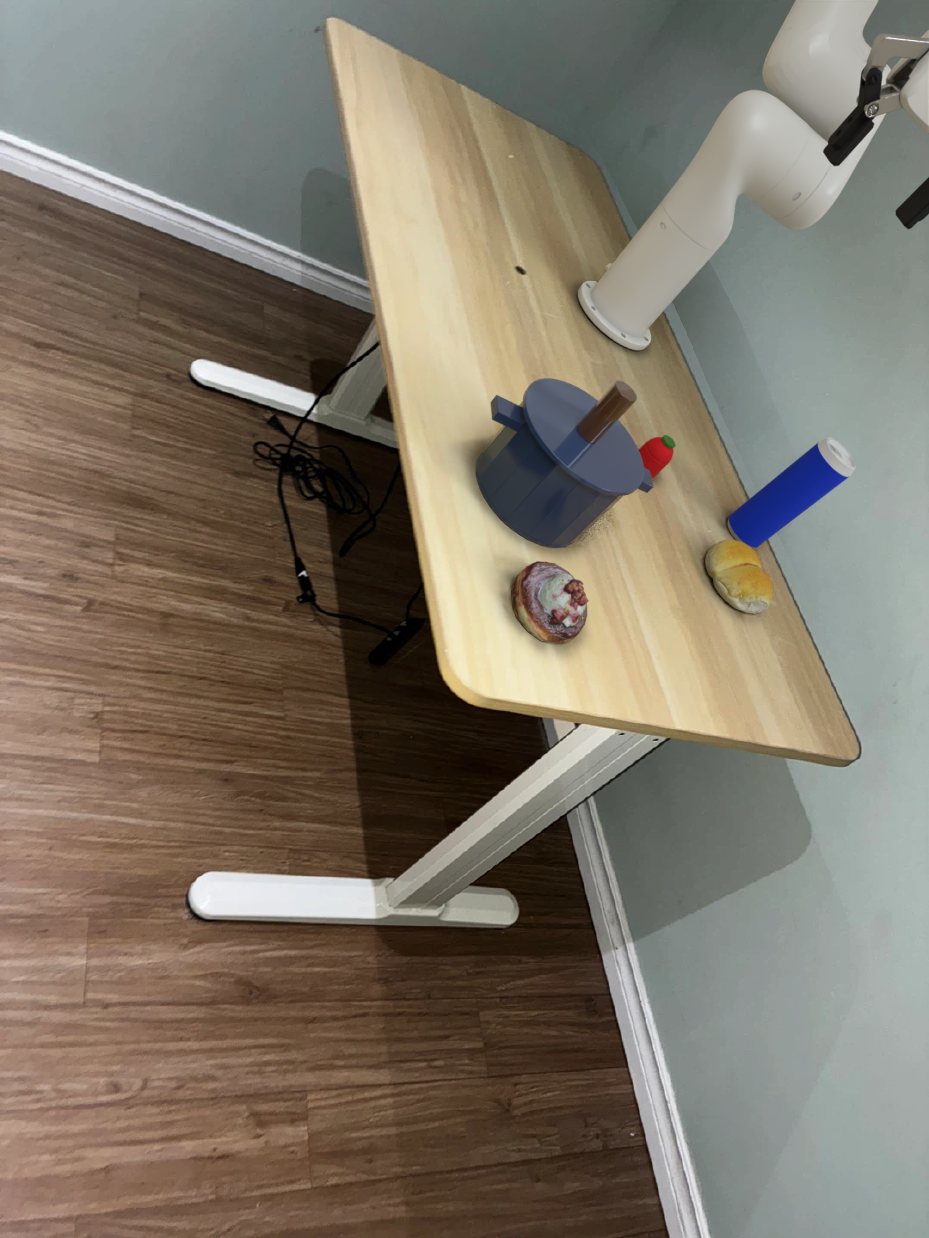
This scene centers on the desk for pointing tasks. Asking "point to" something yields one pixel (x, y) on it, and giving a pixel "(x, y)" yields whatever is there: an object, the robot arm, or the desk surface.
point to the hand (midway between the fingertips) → (866, 191)
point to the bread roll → (739, 576)
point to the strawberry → (657, 453)
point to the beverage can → (792, 492)
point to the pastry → (549, 602)
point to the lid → (586, 433)
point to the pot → (536, 484)
